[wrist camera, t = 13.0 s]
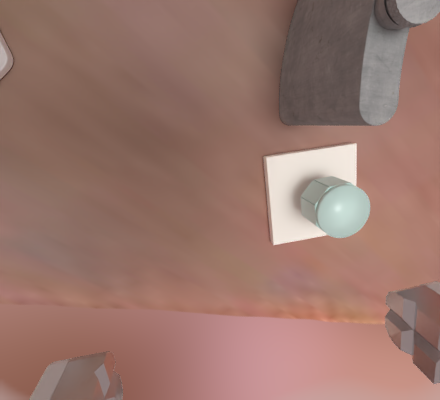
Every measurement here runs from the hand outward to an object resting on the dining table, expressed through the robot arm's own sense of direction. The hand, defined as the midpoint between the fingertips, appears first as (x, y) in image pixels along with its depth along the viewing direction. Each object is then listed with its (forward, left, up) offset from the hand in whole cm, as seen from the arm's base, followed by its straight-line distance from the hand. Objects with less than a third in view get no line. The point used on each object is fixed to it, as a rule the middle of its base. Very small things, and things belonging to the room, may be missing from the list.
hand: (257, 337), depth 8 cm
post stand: (+6, +16, -31) cm, 35 cm away
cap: (+6, +16, -27) cm, 32 cm away
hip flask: (-12, +15, -31) cm, 37 cm away
